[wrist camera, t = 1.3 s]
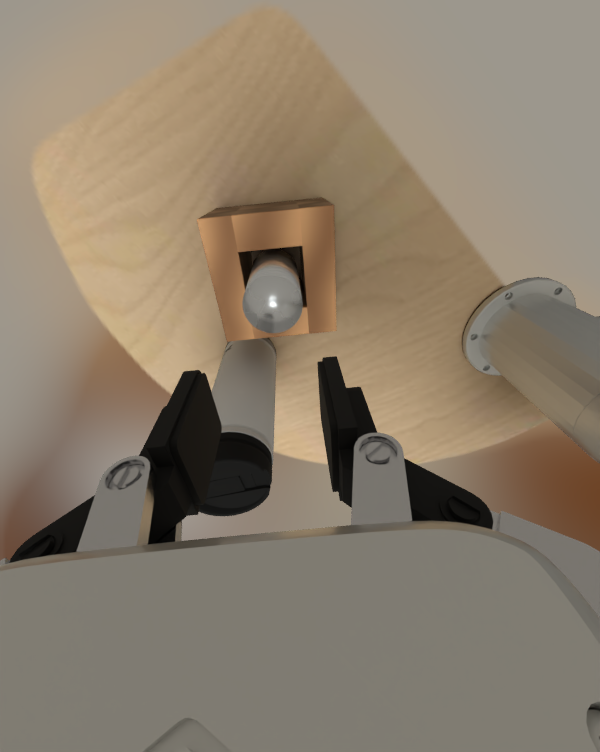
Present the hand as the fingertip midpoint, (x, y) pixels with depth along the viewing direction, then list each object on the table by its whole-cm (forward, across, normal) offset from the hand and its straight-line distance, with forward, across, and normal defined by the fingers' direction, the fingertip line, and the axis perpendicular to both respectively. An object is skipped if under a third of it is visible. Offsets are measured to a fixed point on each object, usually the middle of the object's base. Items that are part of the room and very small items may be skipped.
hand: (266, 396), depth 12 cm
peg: (+18, 0, 0) cm, 18 cm away
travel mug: (+24, +5, +11) cm, 26 cm away
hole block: (+23, 0, 0) cm, 23 cm away
